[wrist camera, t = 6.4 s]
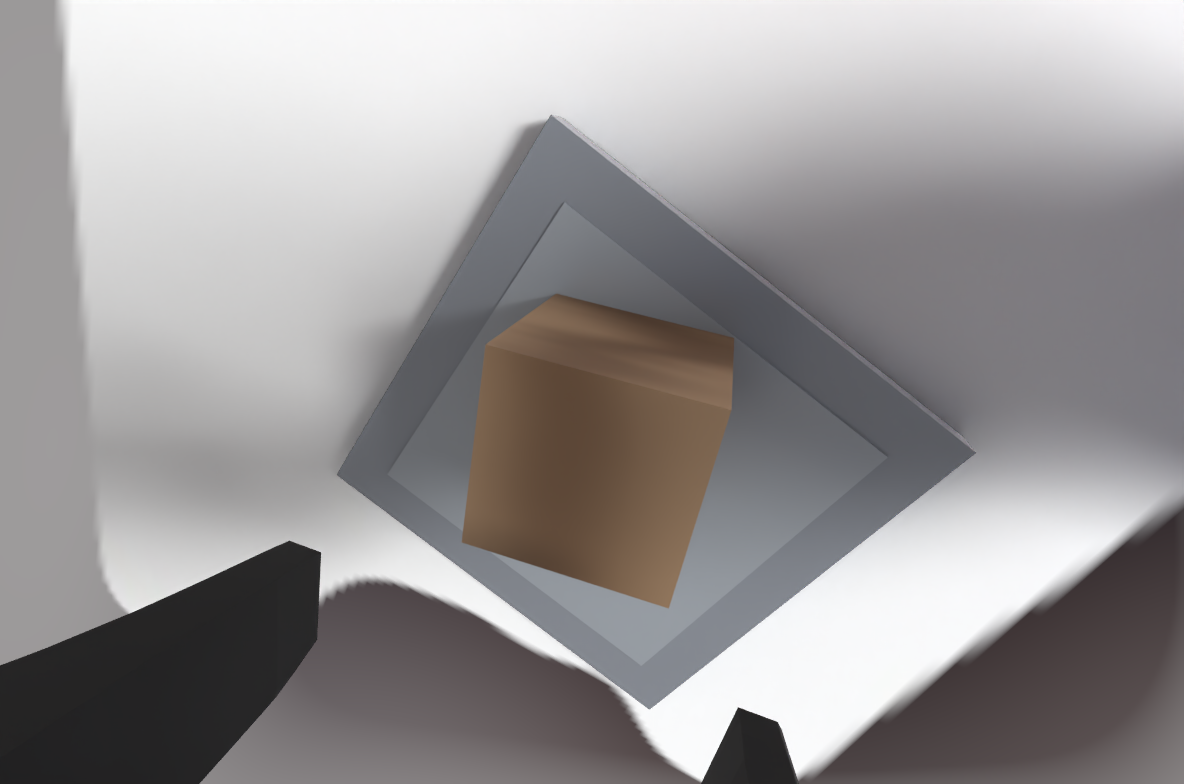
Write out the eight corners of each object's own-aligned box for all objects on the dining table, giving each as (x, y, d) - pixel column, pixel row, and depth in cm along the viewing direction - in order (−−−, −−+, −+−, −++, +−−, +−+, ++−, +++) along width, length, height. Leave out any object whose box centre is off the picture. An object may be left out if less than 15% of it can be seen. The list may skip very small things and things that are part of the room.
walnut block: (734, 337, 16) (731, 409, 11) (687, 493, 18) (668, 608, 13) (556, 293, 16) (485, 344, 12) (530, 448, 18) (461, 542, 14)
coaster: (962, 436, 16) (977, 454, 15) (653, 687, 22) (649, 711, 21) (561, 117, 16) (550, 114, 15) (353, 461, 22) (334, 476, 21)
